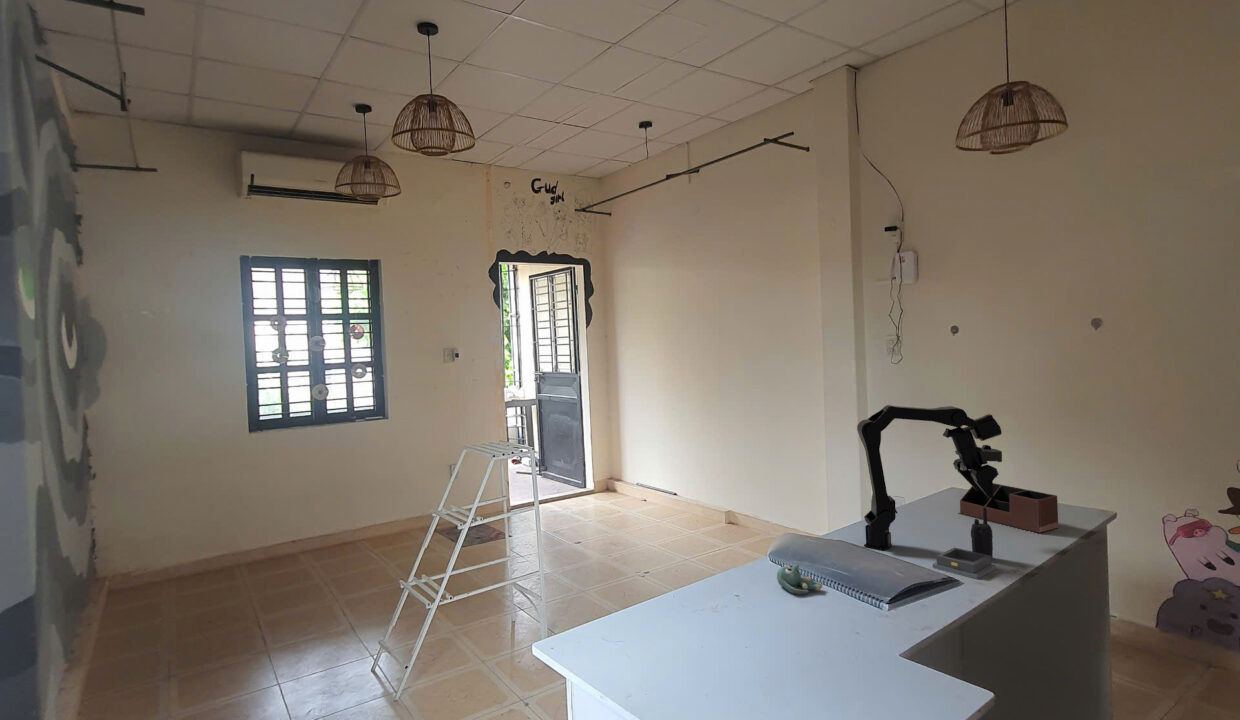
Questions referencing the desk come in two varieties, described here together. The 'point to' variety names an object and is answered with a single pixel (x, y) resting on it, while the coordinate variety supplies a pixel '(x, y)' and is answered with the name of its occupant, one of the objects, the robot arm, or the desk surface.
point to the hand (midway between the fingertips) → (984, 494)
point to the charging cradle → (964, 563)
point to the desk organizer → (1013, 508)
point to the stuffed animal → (795, 580)
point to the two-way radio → (982, 536)
